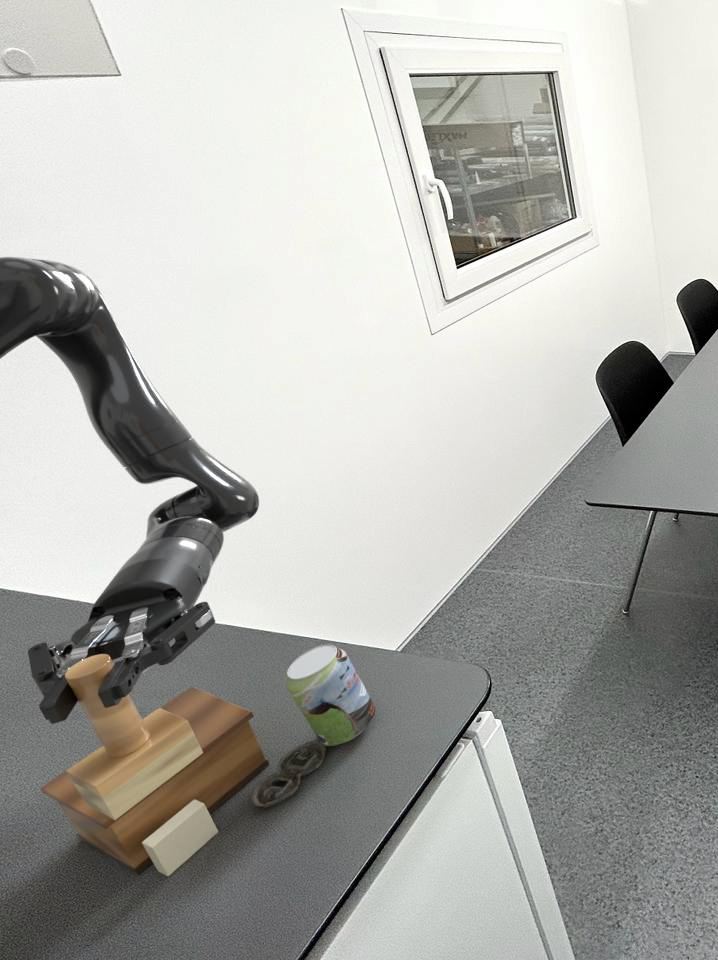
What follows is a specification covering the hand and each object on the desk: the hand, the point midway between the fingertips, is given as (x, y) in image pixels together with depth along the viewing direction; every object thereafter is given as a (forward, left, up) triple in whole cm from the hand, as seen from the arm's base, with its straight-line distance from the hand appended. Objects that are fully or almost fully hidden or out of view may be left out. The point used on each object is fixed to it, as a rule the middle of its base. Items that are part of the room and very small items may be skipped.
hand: (81, 706), depth 54 cm
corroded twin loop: (0, +11, -24) cm, 26 cm away
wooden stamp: (-2, +2, -13) cm, 13 cm away
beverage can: (0, +17, -24) cm, 29 cm away
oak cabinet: (-9, +5, -24) cm, 26 cm away
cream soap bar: (-3, +2, -21) cm, 22 cm away
